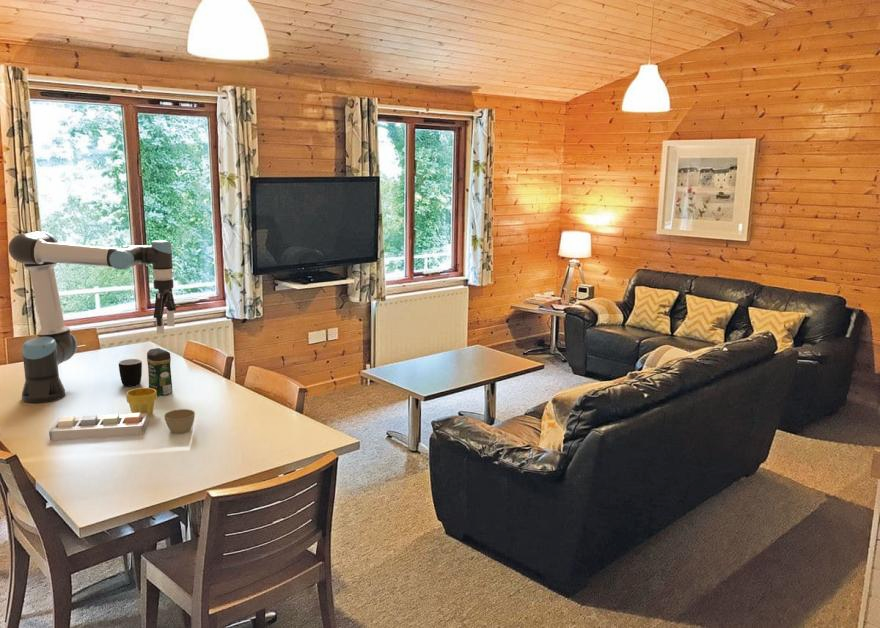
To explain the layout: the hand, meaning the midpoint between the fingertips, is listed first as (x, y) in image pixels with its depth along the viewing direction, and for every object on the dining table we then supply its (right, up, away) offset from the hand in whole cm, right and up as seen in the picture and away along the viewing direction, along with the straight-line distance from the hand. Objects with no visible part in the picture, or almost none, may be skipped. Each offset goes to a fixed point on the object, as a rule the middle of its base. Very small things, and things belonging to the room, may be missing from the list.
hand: (165, 329), depth 293 cm
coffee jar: (-1, -26, -2) cm, 26 cm away
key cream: (-15, -32, -50) cm, 61 cm away
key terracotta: (+6, -31, -45) cm, 55 cm away
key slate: (-8, -32, -48) cm, 58 cm away
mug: (-19, -23, +10) cm, 32 cm away
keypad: (-5, -35, -46) cm, 58 cm away
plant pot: (+3, -32, -29) cm, 43 cm away
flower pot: (+22, -35, -45) cm, 61 cm away
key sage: (-1, -31, -46) cm, 56 cm away
